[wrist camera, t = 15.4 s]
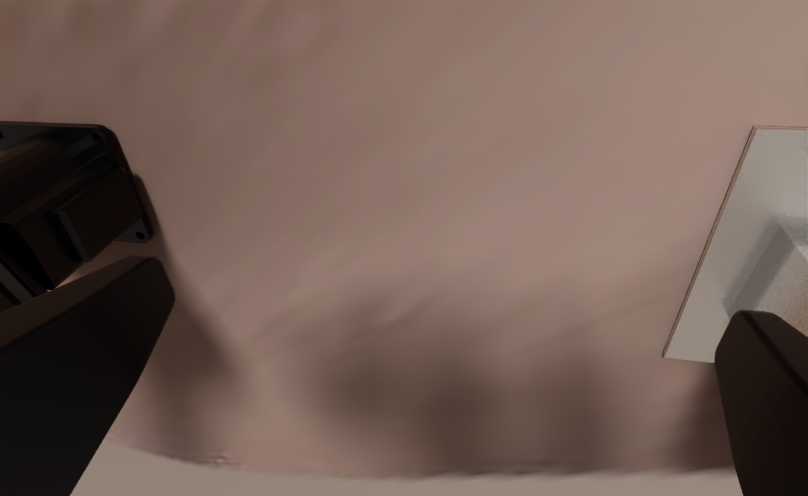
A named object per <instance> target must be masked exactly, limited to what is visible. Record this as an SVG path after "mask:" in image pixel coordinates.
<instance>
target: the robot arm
mask: <svg viewBox="0 0 808 496" xmlns="http://www.w3.org/2000/svg"><path fill="white" fill-rule="evenodd" d="M98 134H99V135H100V136H101V138H100V136H99V135H98ZM153 236H154V233H153V230H152V228H151V226H150V223H149V221H148V219H147V216H146V214H145V211H144V209H143V207H142V204H141V202H140V200H139V197H138V195H137V192H136V190H135V188H134V185H133V183H132V181H131V178H130V176H129V174H128V171H127V169H126V166H125V164H124V162H123V159H122V157H121V155H120V152H119V150H118V147H117V145H116V143H115V140H114V138H113V136H112V134H111V132H110V131H109V130H108V129H107V128H106V127H104V126H103V125H98V124H70V123H42V122H13V121H0V496H70V494H71V493H72V491H73V489H74V488H75V486H76V484H77V483H78V481H79V479H80V478H81V476H82V474H83V473H84V471H85V469H86V467H87V466H88V464H89V463H90V461H91V459H92V458H93V456H94V454H95V453H96V451H97V449H98V448H99V446H100V444H101V443H102V441H103V439H104V438H105V436H106V434H107V433H108V431H109V429H110V428H111V426H112V424H113V423H114V421H115V419H116V418H117V416H118V414H119V413H120V411H121V409H122V408H123V406H124V404H125V403H126V401H127V399H128V398H129V396H130V394H131V392H132V391H133V389H134V387H135V385H136V384H137V382H138V380H139V378H140V376H141V374H142V372H143V370H144V368H145V366H146V364H147V361H148V359H149V357H150V355H151V353H152V351H153V349H154V347H155V345H156V342H157V340H158V338H159V336H160V334H161V332H162V330H163V328H164V325H165V323H166V321H167V319H168V317H169V315H170V313H171V311H172V308H173V306H174V303H175V292H174V289H173V286H172V284H171V282H170V279H169V277H168V275H167V272H166V270H165V268H164V265H163V263H162V261H161V260H160V259H159V258H158V257H155V256H149V255H131V256H128V257H126V258H124V259H121V260H119V261H117V262H115V263H112V264H110V265H108V266H106V267H103V268H101V269H99V270H97V271H94V272H92V273H90V274H88V275H85V276H83V277H81V278H78V279H76V280H74V281H72V282H69V283H67V284H65V285H63V286H60V287H58V288H56V287H57V286H59V285H60V284H61V283H62V282H63V281H64V280H66V279H67V278H68V277H69V276H70V275H71V274H73V273H74V272H75V271H76V270H77V269H78V268H80V267H81V266H82V265H83V264H84V263H88V262H90V261H92V260H93V259H94V258H95V257H96V256H97V255H99V254H100V253H101V252H102V251H103V250H104V249H105V248H107V247H108V246H109V245H110V244H111V243H112V242H114V241H123V242H135V243H147V242H149V241H150V240H151V239H152V238H153ZM55 288H56V289H55ZM47 290H51V291H49V292H48V291H47ZM714 364H715V370H716V375H717V380H718V385H719V390H720V396H721V401H722V406H723V411H724V416H725V422H726V427H727V432H728V437H729V442H730V448H731V452H732V457H733V461H734V466H735V469H736V473H737V476H738V480H739V483H740V486H741V489H742V493H743V496H808V337H807V336H806V335H804V334H803V333H801V332H800V331H799V330H797V329H796V328H794V327H793V326H792V325H790V324H789V323H787V322H786V321H785V320H783V319H782V318H780V317H779V316H777V315H776V314H774V313H772V312H767V311H757V310H746V309H742V310H738V311H737V312H735V313H734V314H733V316H732V317H731V319H730V321H729V323H728V325H727V327H726V330H725V332H724V334H723V336H722V338H721V340H720V342H719V344H718V346H717V348H716V351H715V357H714Z"/></svg>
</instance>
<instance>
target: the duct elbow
mask: <svg viewBox="0 0 808 496" xmlns="http://www.w3.org/2000/svg"><path fill="white" fill-rule="evenodd" d="M742 309H746V310H757V311H767V312H772V313H774V314H776V315H777V316H779V317H780V318H782V319H783V320H785V321H786V322H787V323H789V324H790V325H792V326H793V327H794V328H796V329H797V330H799V331H800V332H801V333H803V334H804V335H806V336H807V337H808V228H802V227H794V226H785V225H780V226H779V228H778V230H777V231H776V233H775V235H774V236H773V238H772V240H771V241H770V243H769V245H768V246H767V248H766V250H765V252H764V253H763V255H762V257H761V258H760V260H759V262H758V263H757V265H756V267H755V268H754V270H753V272H752V273H751V275H750V277H749V279H748V280H747V282H746V284H745V285H744V287H743V289H742V290H741V292H740V294H739V295H738V297H737V299H736V300H735V302H734V304H733V306H732V307H731V309H730V311H729V312H728V314H727V315H728V317H729V319H731V317H732V316H733V314H734V313H735V312H737V311H738V310H742Z"/></svg>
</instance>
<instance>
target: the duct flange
mask: <svg viewBox="0 0 808 496" xmlns="http://www.w3.org/2000/svg"><path fill="white" fill-rule="evenodd" d="M780 225H785V226H794V227H802V228H808V127H778V126H754V127H753V129H752V132H751V134H750V137H749V139H748V142H747V144H746V147H745V149H744V152H743V154H742V157H741V159H740V162H739V164H738V167H737V169H736V172H735V174H734V177H733V179H732V182H731V184H730V187H729V189H728V192H727V194H726V197H725V199H724V202H723V204H722V207H721V209H720V212H719V214H718V217H717V219H716V222H715V224H714V227H713V229H712V232H711V234H710V237H709V239H708V242H707V244H706V247H705V249H704V252H703V254H702V257H701V259H700V262H699V264H698V267H697V269H696V272H695V274H694V277H693V279H692V282H691V284H690V287H689V289H688V292H687V294H686V297H685V299H684V302H683V304H682V307H681V309H680V312H679V314H678V317H677V319H676V322H675V324H674V327H673V329H672V332H671V334H670V337H669V339H668V342H667V344H666V347H665V349H664V352H663V355H664V358H673V359H682V360H691V361H701V362H710V363H714V357H715V351H716V348H717V346H718V344H719V342H720V340H721V338H722V336H723V334H724V332H725V330H726V327H727V325H728V323H729V321H730V319H729V317H728V315H727V314H728V312H729V311H730V309H731V307H732V306H733V304H734V302H735V300H736V299H737V297H738V295H739V294H740V292H741V290H742V289H743V287H744V285H745V284H746V282H747V280H748V279H749V277H750V275H751V273H752V272H753V270H754V268H755V267H756V265H757V263H758V262H759V260H760V258H761V257H762V255H763V253H764V252H765V250H766V248H767V246H768V245H769V243H770V241H771V240H772V238H773V236H774V235H775V233H776V231H777V230H778V228H779V226H780Z"/></svg>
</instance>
